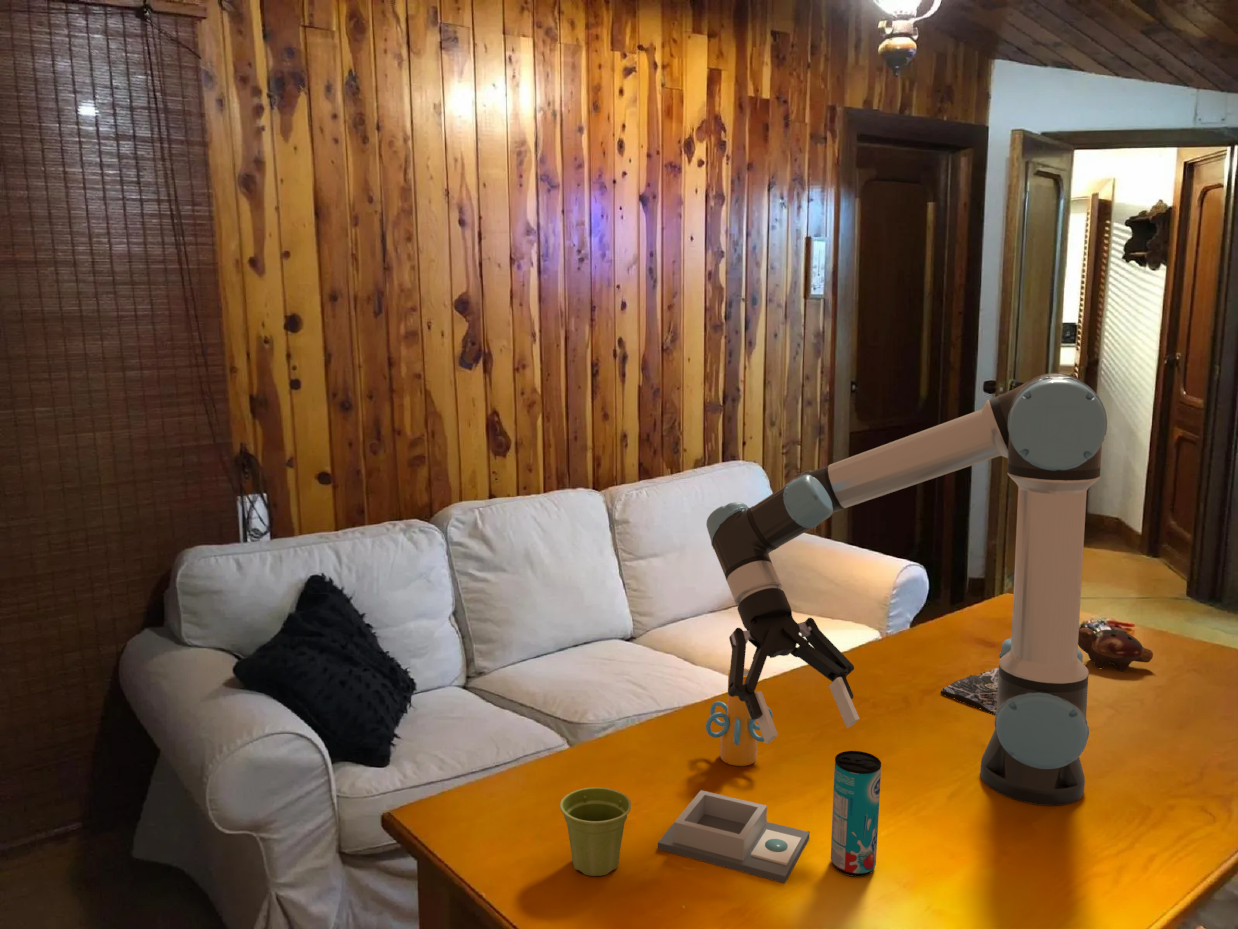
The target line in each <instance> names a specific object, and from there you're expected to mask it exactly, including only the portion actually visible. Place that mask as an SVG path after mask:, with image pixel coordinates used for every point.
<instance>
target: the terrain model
mask: <svg viewBox="0 0 1238 929" xmlns="http://www.w3.org/2000/svg"><path fill="white" fill-rule="evenodd" d="M998 673H999V666H997V667H995V668H993V669H990V670H988V671H987V672H985V671H984V672H983V673H982V672H981V673H979V674H976V675H972V674H970V675H969V676H967V677H964V678H960V679H958V680H955V681H954V682H952V683H950V684H949V685H946V686H945V687H943V688H942V689H941V690H940V695H941V694H942V695H941V696H944V695H946V696H945V697H947V698H949V697H950V699H952V698H955V699H956V700H955V699H954V700H955V701H957V700H958V701H957V702H960V701H961V702H960V703H963V702H965V703H967V704H966V705H968V704H969V705H968V706H970V705H972V706H971V707H973V706H975V707H974V708H976V707H977V708H976V709H978V708H981V709H982V710H981V709H980V710H981V711H983V710H985V711H984V712H986V713H988V712H990V713H989V714H991V713H992V714H991V715H993V714H994V715H993V716H996V711H997V696H998ZM965 703H964V704H965Z"/></svg>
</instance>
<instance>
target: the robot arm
mask: <svg viewBox="0 0 1238 929" xmlns="http://www.w3.org/2000/svg"><path fill="white" fill-rule="evenodd" d="M1107 431H1108V417H1107V412H1106V409H1105V405H1104V403H1103V402H1102V399H1101V398H1100V397H1099V395H1098V394H1097V393H1096V391H1094V389H1092V388H1091V387H1090V386H1089V385H1088V384H1087V383H1085V382H1084V381H1083V380H1082V379H1080V378H1078V377H1075V376H1074V375H1070V374H1067V373H1063V372H1062V373H1059V372H1051V373H1045V374H1041V375H1038V376H1036V377H1033V378H1031V379H1030V380H1028V381H1026V382H1025V383H1023V384H1021V385H1019V386H1017V387H1015V388H1013V389H1011V390H1009V391H1006V392H1004V393H1003V394H1000V395H998V396H995V397H992V398H989V399H987V400H986V401H985V403H984V406H982V408H981V409H979V410H976V411H973V412H971V413H968V414H965V415H962V416H960V417H956V418H954V419H951V420H949V421H946V422H943V423H941V424H937V425H934V426H932V427H929V428H927V429H924V430H921V431H918V432H916V433H912V434H909V435H908V436H907V435H906V436H905V437H902V438H899V439H896V440H894V441H890V442H888V443H886V444H882V445H880V446H877V447H875V448H872V449H869V450H866V451H863V452H860V453H858V454H855V455H852V456H850V457H847V458H844V459H842V460H839V461H835V462H833V463H831V464H829V465H826V466H822V467H820V468H816V469H815V470H807V471H804V472H801V473H799V474H797V475H795V476H794V477H793V478H792V479H790V481H789V482H787V483H786V484H785V485H783V486H782V487H781V488H779V489H777V490H776V491H775V492H773V493H772V494H770V495H768V496H767V497H765V498H764V499H762V500H761V501H760V502H758V503H756V504H755V505H752V506H750V507H749V506H748V505H747V504H745V503H743V502H739V501H737V502H729V503H727V504H726V505H721V506H719V507H717V508H716V509H715V510H713V511H712V512H711V513H710V514H709V516H708V517H707V520H706V529H707V531H708V535H709V538H710V543H711V547H712V549H713V550H714V552H715V555H716V557H717V559H718V563H719V565H720V567H721V569H722V572H723V576H724V577H725V580H726V582H727V583H726V584H727V585H728V587H729V591H730V592H731V595H732V598H733V602H734V604H735V605H737V612H738V615H739V617H740V620H741V623H742V625H743V627H744V629H745V630H743V629H742V628H741V627H736V628H735V629H734V630H733V631H732V633H731V634H730V636H729V637H728V638H729V642H730V647H731V656H730V666H729V670H730V676H729V686H728V685H727V695H728V694H729V695H730V696H731V697H734V696H738V697H739V699H740V700H741V701H745V703H746V706H747V709H748V712H749V714H750V717H751V718H752V719H753V720H754V719H756V722H757V724H758V726H759V728H760V730H759V731H760V732H761V735H762V736H761V737H763V738H764V744H770V743H771V742H772V741H774V740H775V739H776V738H777V737H778V736H779V734H778V731H777V729H776V726H775V723H774V720H773V718H771V715H770V712H769V710H768V708H769V707H768V705H767V703H766V700H765V696H764V695H763V692H762V690H759V691H756V688H757V686H758V683H759V681H760V680H759V679H760V677H761V674H762V672H763V669H764V666H765V664H766V661H767V657H769V659H773V658H776V657H779V656H782V657H786V656H789V655H792V656H793V657H794V658H799V659H800V660H802V661H803V662H805V663H806V664H807V665H809V666H810V667H811V668H813V669H814V670H816V671H817V672H818V673H820V674H821V675H823V676H824V677H825V678H826V679H828V680H829V681H830V682H831V683H830V684H828V688H829V690H830V691H831V695H832V696H833V698H834V701H835V704H836V706H837V708H838V711H839V714H840V716H841V718H842V720H843V722H844V725H845V727H846V728H851V727H852V726H853V725H855V724H856V722H858V721H860V717H859V714H858V712H857V709H856V708H855V705H854V702H853V699H854V693H853V691H852V689H851V686H850V683H849V682H848V679H847V676H849V675H850V673H852V672H853V671H854V670H855V666H854V664H853V663H852V662H851V661H850V660H849V659H848V657H846V656H845V655H844V654H843V653H842V652H841V650H840V649H839V648H838V647H836V646H835V644H834V643H832V641H831V640H830V639H829V638H828V637H827V636H826V635H825V633H823V632H822V631H821V630H820V628H819V626H818V624H817V623H816V621H815V620H814V618H812V617H808V618H807V619H806V620H804V621H803V622H799V623H798V622H797V621H796V620H795V619H794V617H793V613H792V608H791V605H790V602H789V601H788V598H787V596H786V593H785V591H784V590H783V589H782V586H783V585H782V583H781V580H780V578H779V576H778V574H777V571H776V570H775V567H774V564H773V561H772V560H771V557H770V553H771V552H773V551H775V550H777V549H779V548H780V547H782V546H783V545H785V544H787V543H788V542H790V541H792V540H794V539H796V538H797V537H799V536H801V535H802V534H804V533H806V532H808V531H810V530H811V529H814V528H817V527H818V526H819V525H820V524H821V523H823V522H825V520H827V519H829V518H830V517H831V516H832V515H833V514H834V513H836V512H839V511H842V510H844V509H846V508H849V507H852V506H855V505H859V504H861V503H864V502H867V501H869V500H873V499H876V498H879V497H883V496H886V495H887V494H890V493H891V494H892V493H893V492H897V491H899V490H902V489H906V488H909V487H911V486H912V487H913V486H915V485H917V484H922V483H923V482H926V481H929V480H933V479H935V478H938V477H942V476H944V475H947V474H950V473H953V472H956V471H960V470H962V469H965V468H969V467H971V466H974V465H977V464H981V463H983V462H985V461H989V460H991V459H995V458H998V457H1004V458H1005V459H1007V471H1006V472H1007V476H1008V477H1010V479H1011V480H1012V481H1014V483H1015V484H1016V485H1017V488H1018V489H1017V490H1018V492H1017V510H1016V511H1017V512H1016V530H1015V531H1016V532H1015V533H1016V534H1015V553H1014V557H1015V558H1014V578H1013V598H1012V599H1013V600H1012V602H1013V603H1012V618H1011V619H1012V620H1011V637H1010V638H1006V639H1004V641H1003V642H1002V644H1001V647H1000V648H1001V650H1000V652H999V655H998V657H999V658H1000V659H998V660H999V661H998V667H999V673H998V696H997V711H996V715H994V716H995V717H994V731H993V732H992V735H991V737H990V739H989V742H988V744H987V746H986V748H985V750H984V752H983V754H982V757H981V760H980V771H979V775H980V778H981V780H982V781H983V782H984V783H985V784H986V785H987V786H988V787H989V788H990V789H992V790H994V791H995V792H997V793H999V794H1001V795H1003V796H1005V797H1008V798H1011V799H1014V800H1016V801H1020V802H1022V803H1023V802H1024V803H1028V804H1034V805H1039V806H1040V805H1041V806H1062V805H1063V806H1065V805H1069V804H1074V803H1076V802H1077V801H1079V800H1081V799H1082V798H1083V797H1084V793H1085V785H1086V780H1085V778H1086V777H1085V773H1084V769H1083V765H1082V761H1081V758H1080V756H1081V755H1082V753H1083V752H1084V751H1085V748H1086V747H1087V743H1088V740H1089V736H1090V727H1089V725H1088V720H1087V708H1088V707H1087V705H1088V690H1089V689H1088V688H1089V685H1088V684H1089V669H1088V668H1087V667H1086V665H1085V664H1084V663H1083V662H1084V661H1083V659H1084V658H1083V657H1084V656H1083V653H1082V651H1081V650H1080V649H1079V645H1078V636H1079V629H1080V614H1081V598H1082V597H1081V596H1082V584H1083V583H1082V579H1083V565H1084V564H1083V562H1084V544H1085V523H1086V510H1087V509H1086V508H1087V494H1088V493H1087V491H1088V490H1089V488H1090V487H1092V485H1094V484H1095V483H1096V482H1098V481H1099V480H1100V478H1101V467H1102V465H1101V463H1102V452H1103V442H1105V441H1104V440H1105V436H1106V435H1107ZM800 634H801V635H800ZM748 642H749V643H751V644H752V645H753V647H755V648H756V649H755V651H754V654H753V657H752V661H751V664H750V667H749V668H748V669H749V672H748V675H747V677H746V680H745V683H744V685H743V675H744V668H745V660H746V650H747V643H748ZM797 645H798V646H797Z"/></svg>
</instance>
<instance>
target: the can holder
mask: <svg viewBox="0 0 1238 929" xmlns="http://www.w3.org/2000/svg"><path fill="white" fill-rule="evenodd" d="M767 813H768V805H766V804H761V803H756V802H753V801H749V800H743V799H740V798H735V797H730V796H727V795H724V794H718V793H714V792H711V791H706V790H703V789H700V791H699V792H698V793H697V794H696V795H695V797H694V798H692V800H691V802H690V803H689V804H688V805H687V806H686V807H685V809H684V810H683V811H682V813H681V814H680V815H679V816H678V817H677V818H676V819H675V820H674V821H673V823H672V825H671V826H670V827H669V828H668V829H667V831H666V832H665V833H664V834H663V835H662V836H661V838H660V839H659V840H658V842H657V850H659V851H663V852H668V853H671V854H673V855H679V856H682V857H686V858H690V859H692V860H697V861H701V862H704V863H708V864H711V865H716V866H719V867H723V868H725V869H726V868H727V869H731V870H734V871H736V872H737V871H739V872H740V873H741V872H742V873H745V874H748V875H752V876H757V877H759V878H760V877H761V878H764V879H767V880H770V881H776V882H778V883H783V884H786V883H787V880H788V878H789V876H790V875H791V873H792V871H793V869H794V867H795V865H796V864H797V862H798V860H799V858H800V856H801V855H802V853H803V852H804V849H805V847H806V846H807V844H808V842H809V840H810V832H809V831H806V830H802V829H798V828H794V827H789V826H785V825H782V824H777V823H773V822H770V821H767Z"/></svg>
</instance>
